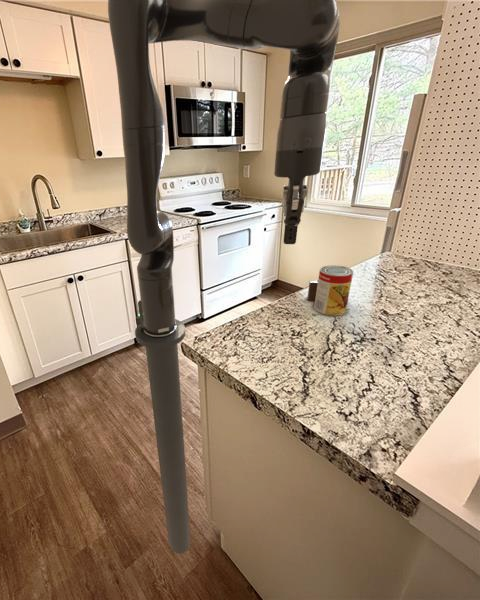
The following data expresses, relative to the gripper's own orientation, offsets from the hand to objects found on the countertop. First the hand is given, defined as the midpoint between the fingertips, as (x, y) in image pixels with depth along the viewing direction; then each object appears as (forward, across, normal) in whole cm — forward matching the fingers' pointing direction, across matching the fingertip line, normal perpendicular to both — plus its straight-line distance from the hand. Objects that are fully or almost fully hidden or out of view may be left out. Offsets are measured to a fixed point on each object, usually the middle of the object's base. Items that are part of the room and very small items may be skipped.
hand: (289, 243), depth 61 cm
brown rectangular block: (+27, -32, +13) cm, 44 cm away
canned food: (+27, -26, +14) cm, 40 cm away
